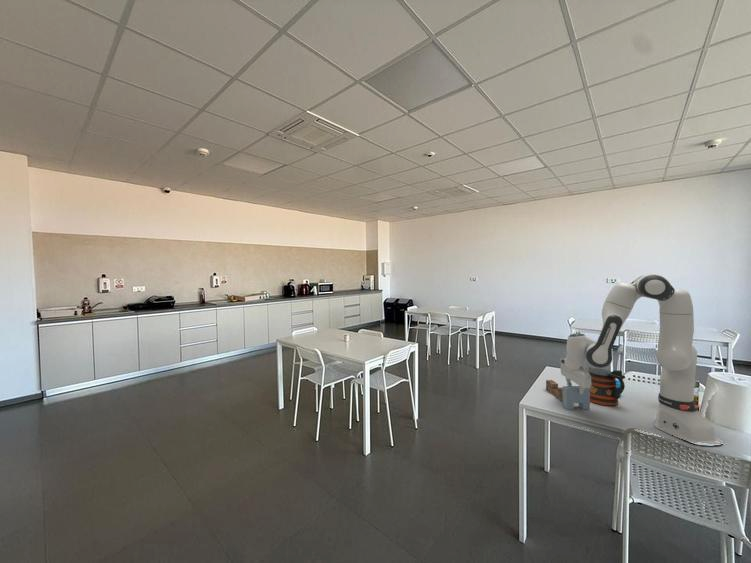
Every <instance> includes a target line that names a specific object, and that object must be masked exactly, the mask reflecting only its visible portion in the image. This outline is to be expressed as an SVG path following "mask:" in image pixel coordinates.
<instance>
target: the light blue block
mask: <svg viewBox="0 0 751 563" xmlns="http://www.w3.org/2000/svg"><path fill="white" fill-rule="evenodd" d="M562 387H563V402H562V407H563V408H564V409H566V410H574V404H578V407H580V409H582V410H591V409H590V408H591V407H590V405H591V404H590V403H591V402H590V388H585V390H584V392H583V394H580V393H578V390H580V386H579V385H572V386H567V385H562Z"/></svg>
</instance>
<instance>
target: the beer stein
mask: <svg viewBox="0 0 751 563" xmlns="http://www.w3.org/2000/svg"><path fill="white" fill-rule="evenodd" d="M587 370H588V372H589V374H590V376H591V388H590V403H593V404H597V405H601V406H610V407H611V406H616V405H618V404H619V401H618V400H619V399H620V398H621V397H620V394H621V395H622V393H623V392H624V390H625V387H626V385H625V381H624V379H626V375H623V371H622V370H618V369H617V370H613V371H611V370H608V369H605V368H599V367H595V368H592V367H588V369H587ZM616 380H618V381H620V384H621V385H620V387H619V388H616V386H617V384H616Z"/></svg>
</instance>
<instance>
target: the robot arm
mask: <svg viewBox="0 0 751 563" xmlns="http://www.w3.org/2000/svg"><path fill="white" fill-rule="evenodd" d="M640 298H648V299H653V300H657V302H658V306H659V312H658V313H659V333H658V340H657V341H658V342H657V353H656V361H657V363H658V364H659V365H660V366H661V373H660V376H659V393H658V396H657V399H658V402H659V403H658V407H657V411H656V416H655V420H654V423H653V427H654V428H656V429H658V430H660V431H662V432H664V433H666V434H668V435H670V436H672V435H673V436H672V437H675V438H677V437H678V438H677V439H679V438H680V439H679V440H681V439H683V440H686V441H689V442H693V443H697V442H701V443H708V444H721V443H724V441H723V440H722V439H720V438H718V437H717V436H716V432H715V428H714V426H713V424H711V423H710V421H708V420H707V419H706V418H705V417H704V415H702V414H701V412H699V411H698V410H699V409H700V408H701V405H698V404H697V403H696V400H695V398H694V396H695V393H694V392H695V378H696V373H697V371H696V370H697V365H698V364H697V362H698V352H697V350H696V348H695V346H694V345H693V340H694V334H695V330H694V329H695V324H694V318H695V316H694V315H695V313H694V306H693V301H692V295H691V294H690V293H689V291H687V290H685V289H683V288H677V287H676V288H674V286H672V284H671V283H670V282H669V280H668V279H667V278H665V277H664V276H662V275H659V274H653V273H650V274H644V275H641V276H639V277H637V278H636V279H635V280H633V281H632V282H627V281H626V282H625V281H624V282H617V283H615V284H614V285H613V287H612V288H611V289H610V291H609V292H608V295H606V299H605V300H604V303H603V306H602V310H601V316H602V329H601V331H600V333H599V336H598V337H597V340H595V339H592V338H590V337H589V336H587V335H586V334H585V333H581V332H580V333H572V334H571V333H570V335H568V337H567V339H566V346H565V347H566V348H565V349H566V356H565V358H560V359H559V360H560V374H561V375H562V376H564V377H565V381H566V386H573V384H572V383H574V384H576V385H577V386H580V390H578V393H580V394H583V392H584V390H585V388H591V376H590V374H589V372H588V370H589V369H586V368H587V363H589V364H590V366H593V367H595V368H598V369H603V368H607V367H608V366H610V365H611V364H612V362H613V353H612V352H613V347H614V345H615V342H616V339H617V337H618V335H619V332H620V331H621V328H622V327H623V325H624V324H625V323H626V320H627V319H628V318H629V316H630V314H631V312H632V310H633V308H634V306H635V304H636V302H637V301H638V300H639V299H640ZM683 440H682V441H683ZM715 441H718V442H720V443H717V442H715Z"/></svg>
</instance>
